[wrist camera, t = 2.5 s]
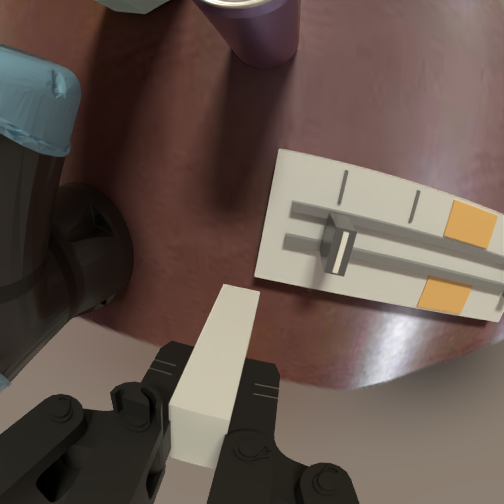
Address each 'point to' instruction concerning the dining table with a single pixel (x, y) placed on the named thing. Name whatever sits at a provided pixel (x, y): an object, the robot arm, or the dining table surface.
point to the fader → (337, 244)
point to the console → (383, 238)
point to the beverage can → (256, 28)
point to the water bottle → (132, 5)
